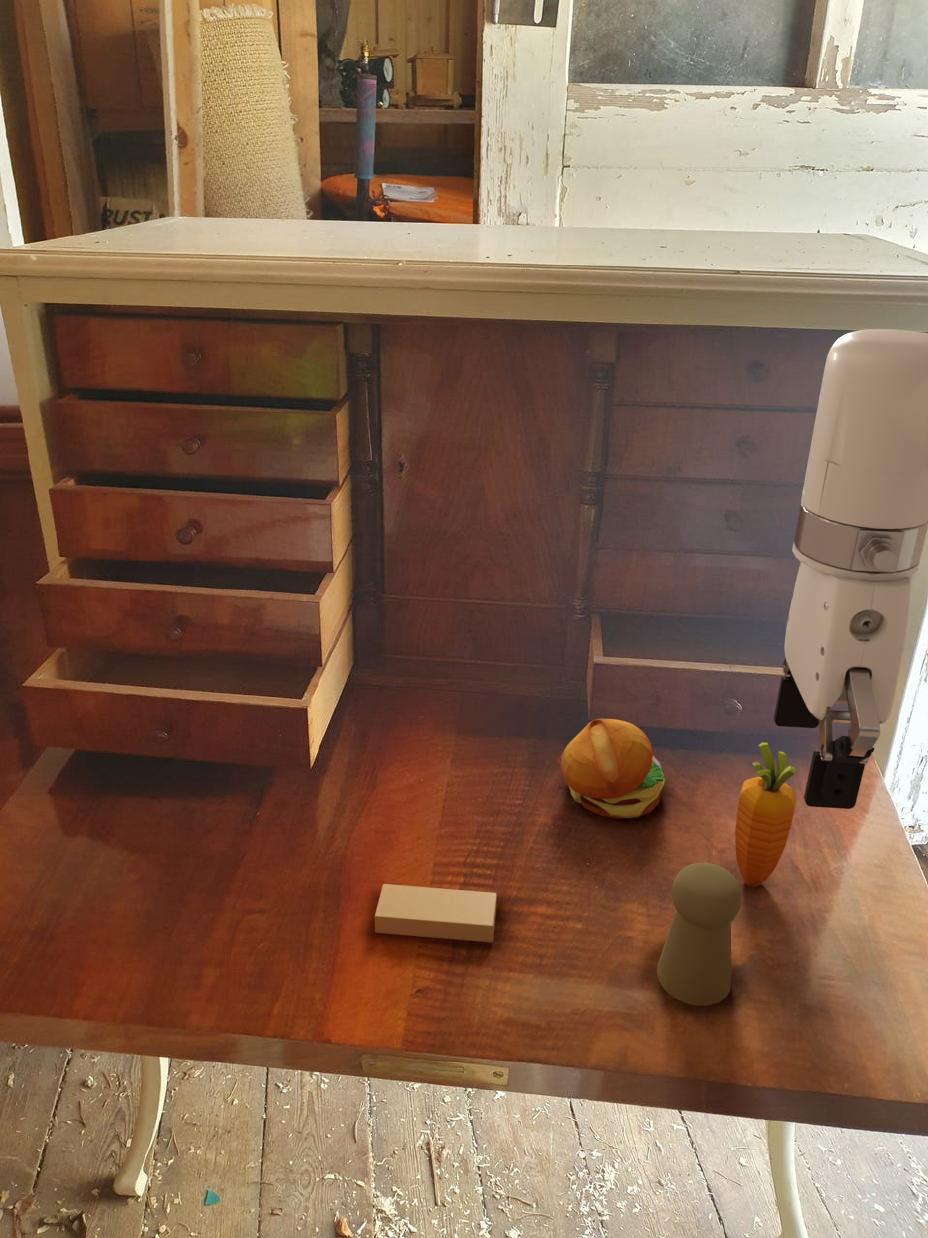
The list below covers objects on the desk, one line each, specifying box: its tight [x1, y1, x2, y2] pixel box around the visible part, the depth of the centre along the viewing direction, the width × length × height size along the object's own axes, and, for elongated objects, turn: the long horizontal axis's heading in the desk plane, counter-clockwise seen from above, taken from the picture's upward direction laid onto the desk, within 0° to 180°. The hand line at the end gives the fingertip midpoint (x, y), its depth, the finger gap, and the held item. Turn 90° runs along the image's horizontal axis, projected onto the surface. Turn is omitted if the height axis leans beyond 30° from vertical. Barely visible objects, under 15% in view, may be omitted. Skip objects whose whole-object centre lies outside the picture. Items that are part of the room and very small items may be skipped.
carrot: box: [734, 742, 797, 888], centre depth 85 cm, size 5×5×15 cm
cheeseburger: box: [557, 718, 666, 820], centre depth 98 cm, size 10×11×10 cm
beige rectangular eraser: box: [374, 883, 498, 943], centre depth 83 cm, size 10×4×2 cm, turn 84°
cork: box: [656, 862, 743, 1007], centre depth 75 cm, size 6×6×11 cm
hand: (810, 762), depth 68 cm, fingers open, 9 cm apart
